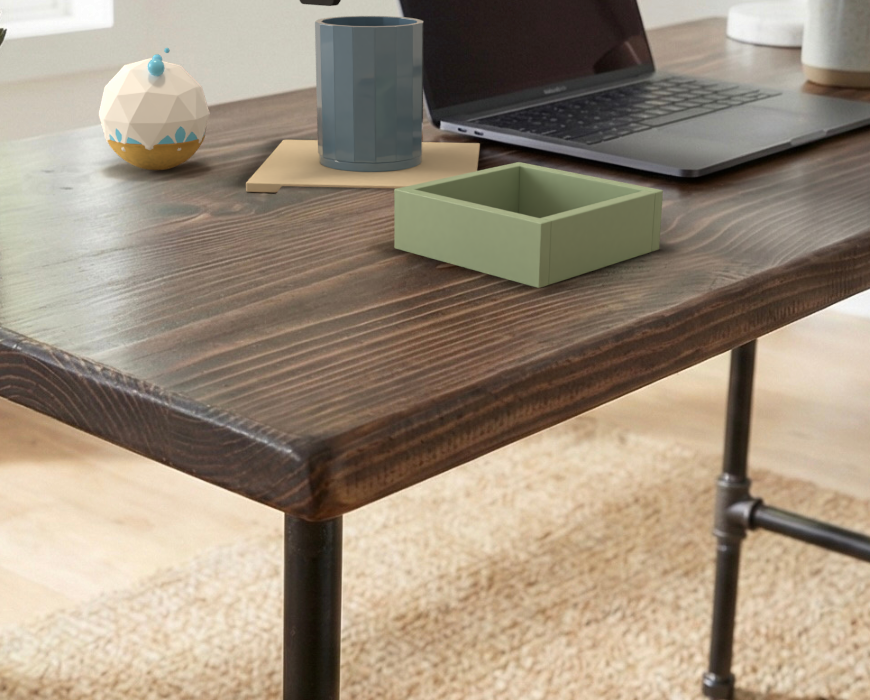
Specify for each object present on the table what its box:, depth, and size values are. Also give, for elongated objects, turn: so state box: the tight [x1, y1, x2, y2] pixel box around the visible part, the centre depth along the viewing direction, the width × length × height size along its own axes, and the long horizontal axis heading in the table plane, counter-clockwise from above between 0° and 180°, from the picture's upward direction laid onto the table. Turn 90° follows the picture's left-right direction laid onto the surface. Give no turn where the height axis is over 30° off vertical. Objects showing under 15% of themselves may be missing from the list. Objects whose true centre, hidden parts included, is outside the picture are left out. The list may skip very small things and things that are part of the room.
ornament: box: [98, 47, 211, 171], centre depth 84 cm, size 7×7×8 cm
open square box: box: [393, 161, 664, 289], centre depth 66 cm, size 10×10×4 cm
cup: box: [314, 15, 425, 172], centre depth 84 cm, size 7×7×9 cm
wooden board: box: [245, 139, 481, 194], centre depth 86 cm, size 14×14×1 cm
